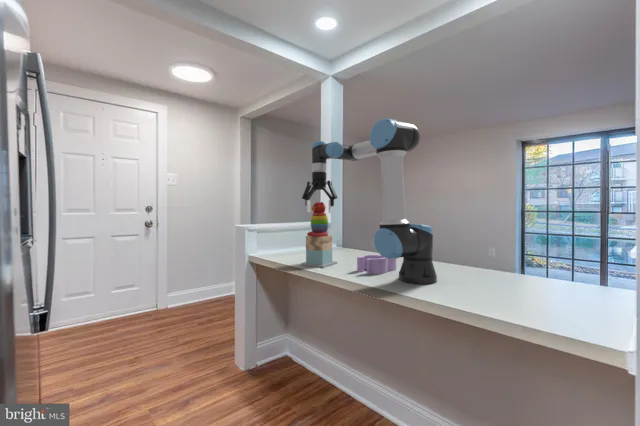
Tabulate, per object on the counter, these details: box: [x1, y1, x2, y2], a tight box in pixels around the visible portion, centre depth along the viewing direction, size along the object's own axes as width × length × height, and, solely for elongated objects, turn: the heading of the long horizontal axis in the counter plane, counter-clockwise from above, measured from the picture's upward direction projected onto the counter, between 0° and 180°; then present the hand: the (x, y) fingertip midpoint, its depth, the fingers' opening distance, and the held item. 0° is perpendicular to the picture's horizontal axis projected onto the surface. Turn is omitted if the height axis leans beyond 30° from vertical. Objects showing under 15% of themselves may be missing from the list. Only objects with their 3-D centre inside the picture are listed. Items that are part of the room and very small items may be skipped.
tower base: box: [300, 248, 338, 269], centre depth 166 cm, size 14×14×8 cm
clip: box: [356, 253, 397, 275], centre depth 151 cm, size 20×12×7 cm, turn 124°
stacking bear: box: [306, 201, 329, 237], centre depth 166 cm, size 11×10×18 cm
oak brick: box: [305, 234, 333, 251], centre depth 166 cm, size 10×10×7 cm
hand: (319, 212), depth 166 cm, fingers open, 13 cm apart
